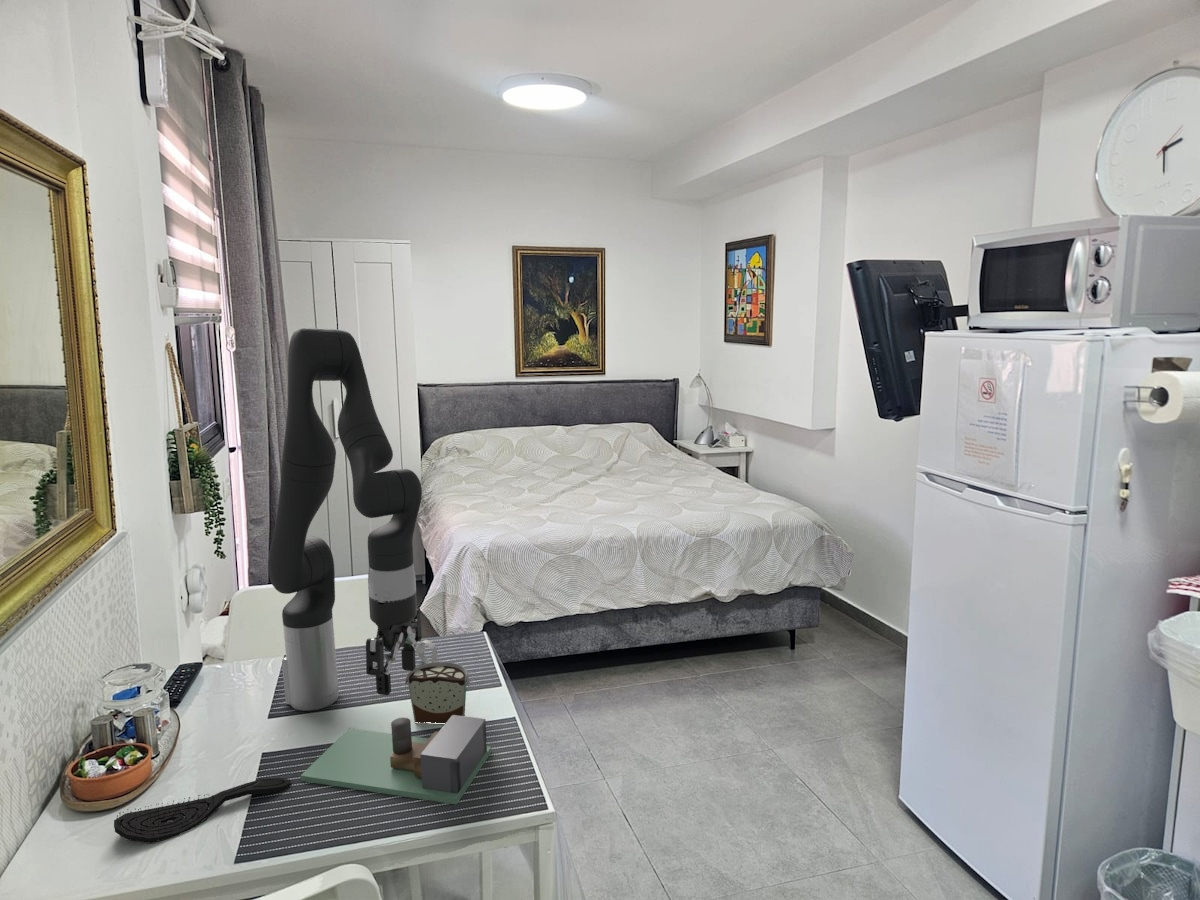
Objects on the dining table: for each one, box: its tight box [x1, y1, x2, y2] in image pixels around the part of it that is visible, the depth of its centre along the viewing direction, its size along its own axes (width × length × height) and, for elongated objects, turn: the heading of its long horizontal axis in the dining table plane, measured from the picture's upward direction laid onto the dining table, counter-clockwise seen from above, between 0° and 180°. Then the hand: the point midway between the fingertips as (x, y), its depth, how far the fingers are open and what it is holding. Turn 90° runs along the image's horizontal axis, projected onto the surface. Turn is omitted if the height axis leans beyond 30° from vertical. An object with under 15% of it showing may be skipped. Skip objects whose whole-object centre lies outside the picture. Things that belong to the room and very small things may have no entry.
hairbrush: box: [113, 777, 292, 844], centre depth 123 cm, size 8×4×25 cm
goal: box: [420, 715, 488, 794], centre depth 132 cm, size 6×12×6 cm, turn 166°
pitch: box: [300, 727, 492, 805], centre depth 135 cm, size 28×15×1 cm, turn 76°
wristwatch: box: [415, 639, 438, 664], centre depth 172 cm, size 3×5×5 cm, turn 54°
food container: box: [404, 661, 471, 723], centre depth 150 cm, size 12×6×10 cm, turn 84°
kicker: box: [390, 717, 439, 778], centre depth 133 cm, size 7×8×7 cm
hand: (396, 681), depth 131 cm, fingers open, 8 cm apart
